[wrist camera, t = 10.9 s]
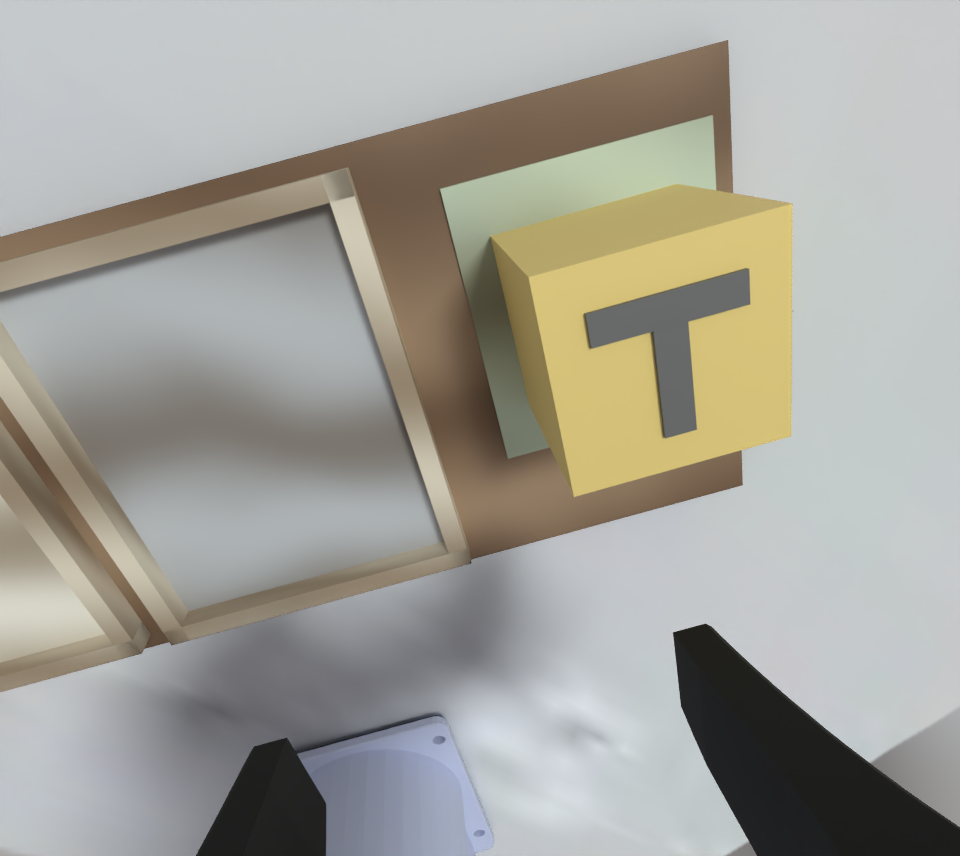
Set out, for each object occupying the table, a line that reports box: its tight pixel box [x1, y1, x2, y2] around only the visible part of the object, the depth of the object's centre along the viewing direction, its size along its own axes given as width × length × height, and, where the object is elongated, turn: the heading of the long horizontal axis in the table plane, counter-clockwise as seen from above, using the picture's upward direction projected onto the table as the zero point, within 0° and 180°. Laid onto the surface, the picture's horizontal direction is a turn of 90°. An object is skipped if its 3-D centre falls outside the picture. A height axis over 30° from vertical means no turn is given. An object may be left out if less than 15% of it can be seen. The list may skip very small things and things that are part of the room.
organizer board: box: [0, 40, 743, 692], centre depth 17 cm, size 13×31×1 cm, turn 104°
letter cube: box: [490, 184, 792, 497], centre depth 14 cm, size 5×5×5 cm
